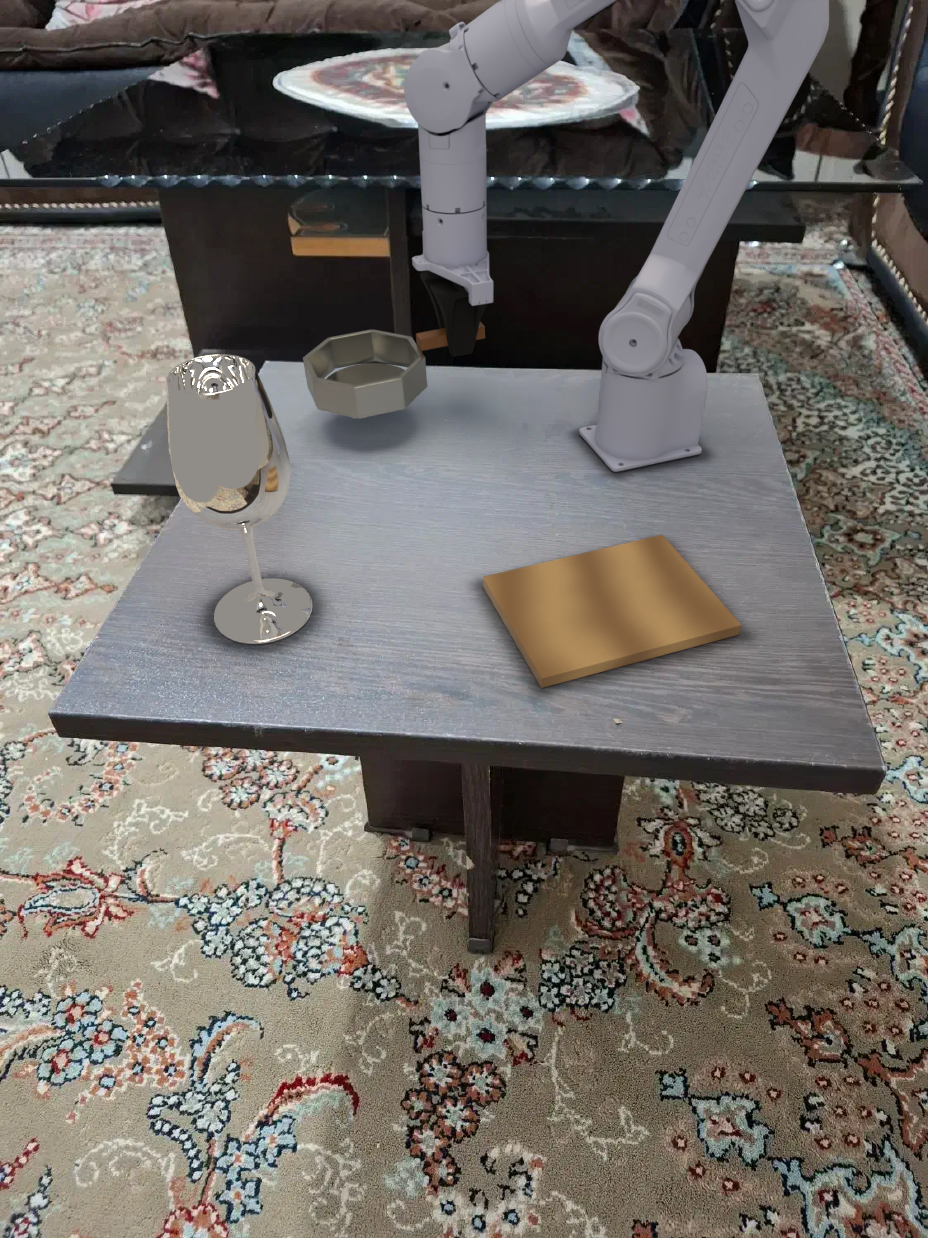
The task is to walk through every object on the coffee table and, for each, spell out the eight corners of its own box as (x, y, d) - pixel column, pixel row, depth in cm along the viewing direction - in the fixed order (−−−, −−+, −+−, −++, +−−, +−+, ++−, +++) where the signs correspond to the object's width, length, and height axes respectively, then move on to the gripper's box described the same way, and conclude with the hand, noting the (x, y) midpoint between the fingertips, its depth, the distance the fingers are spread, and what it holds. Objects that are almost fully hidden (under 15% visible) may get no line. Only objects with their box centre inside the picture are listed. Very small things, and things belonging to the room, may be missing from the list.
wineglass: (199, 600, 71) (133, 363, 57) (292, 568, 73) (249, 336, 60) (231, 660, 66) (166, 415, 52) (330, 623, 68) (292, 383, 55)
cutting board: (661, 543, 75) (662, 534, 75) (739, 634, 67) (741, 624, 66) (482, 586, 71) (482, 576, 71) (541, 688, 63) (541, 678, 62)
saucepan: (465, 342, 94) (464, 301, 91) (503, 390, 86) (502, 347, 83) (301, 374, 90) (294, 333, 87) (325, 428, 83) (318, 385, 80)
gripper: (388, 185, 83) (398, 326, 92) (436, 235, 73) (442, 388, 82) (460, 176, 85) (463, 316, 94) (516, 224, 75) (514, 375, 84)
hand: (458, 349), depth 88 cm, fingers closed on saucepan
